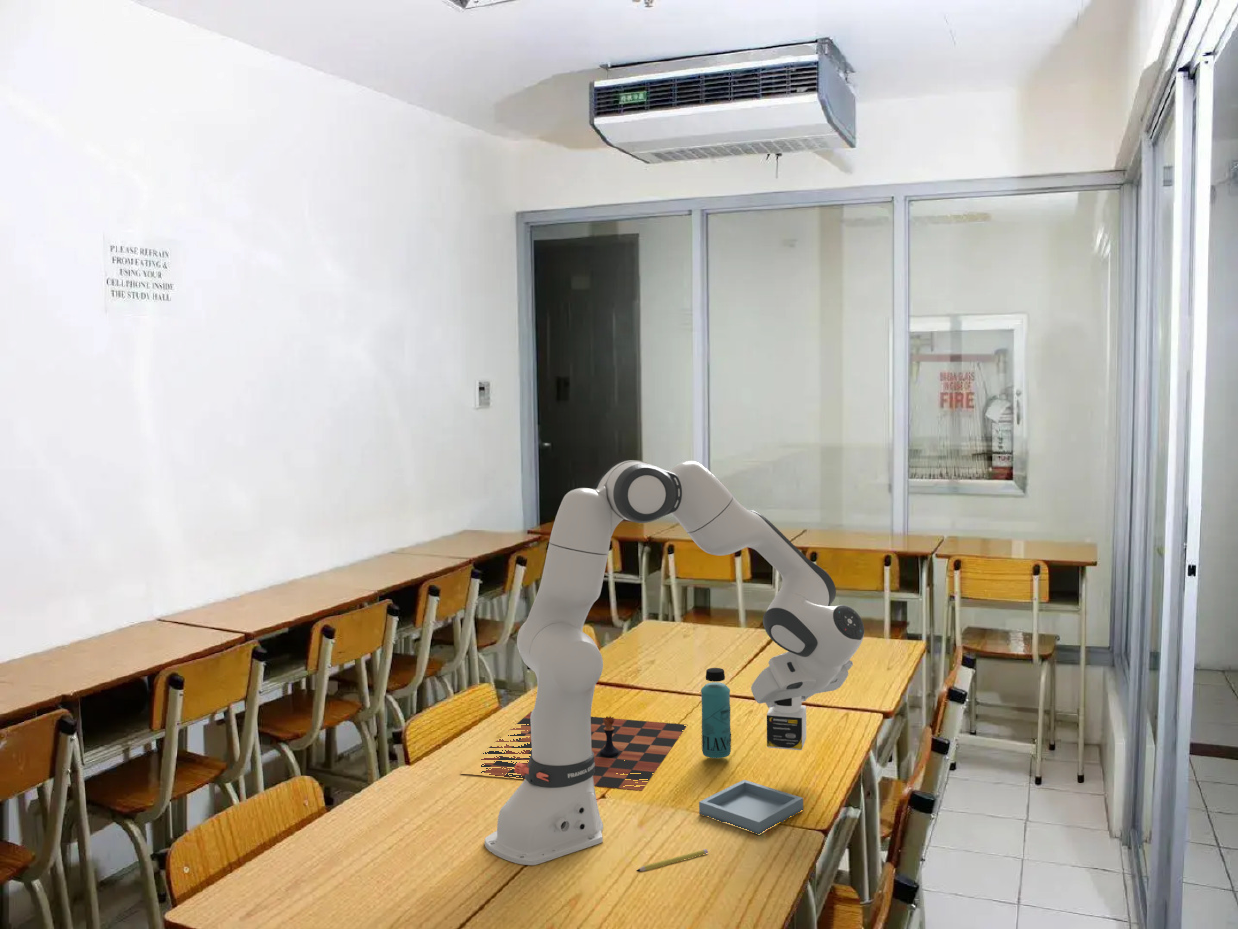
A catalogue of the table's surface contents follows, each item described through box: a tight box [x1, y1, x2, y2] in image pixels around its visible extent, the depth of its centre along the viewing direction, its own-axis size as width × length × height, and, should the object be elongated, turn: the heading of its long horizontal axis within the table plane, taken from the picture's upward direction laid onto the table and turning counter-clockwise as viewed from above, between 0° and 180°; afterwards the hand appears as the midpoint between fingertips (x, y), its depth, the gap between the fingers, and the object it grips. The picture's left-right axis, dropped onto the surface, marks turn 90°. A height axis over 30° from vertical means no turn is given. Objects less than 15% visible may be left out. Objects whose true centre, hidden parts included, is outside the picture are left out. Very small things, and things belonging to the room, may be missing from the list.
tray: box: [698, 779, 804, 834], centre depth 199 cm, size 14×14×2 cm
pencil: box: [635, 849, 709, 872], centre depth 180 cm, size 1×14×1 cm, turn 117°
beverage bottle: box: [700, 667, 732, 759], centre depth 226 cm, size 6×7×20 cm
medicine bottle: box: [766, 696, 807, 751], centre depth 214 cm, size 7×7×12 cm
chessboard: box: [481, 711, 687, 792], centre depth 236 cm, size 40×40×11 cm
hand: (784, 701), depth 214 cm, fingers closed on medicine bottle, 6 cm apart
